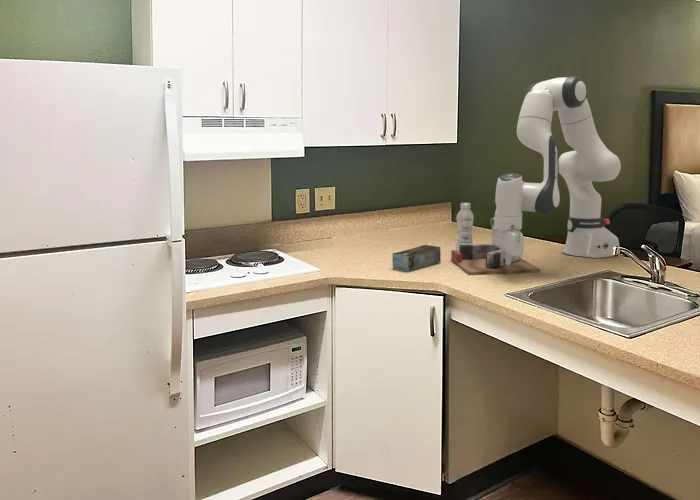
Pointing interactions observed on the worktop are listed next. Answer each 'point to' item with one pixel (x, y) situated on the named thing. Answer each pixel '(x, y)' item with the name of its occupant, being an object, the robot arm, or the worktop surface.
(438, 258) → the beverage carton
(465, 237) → the plastic bottle
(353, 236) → the worktop surface
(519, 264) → the tongs base
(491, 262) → the jaw
